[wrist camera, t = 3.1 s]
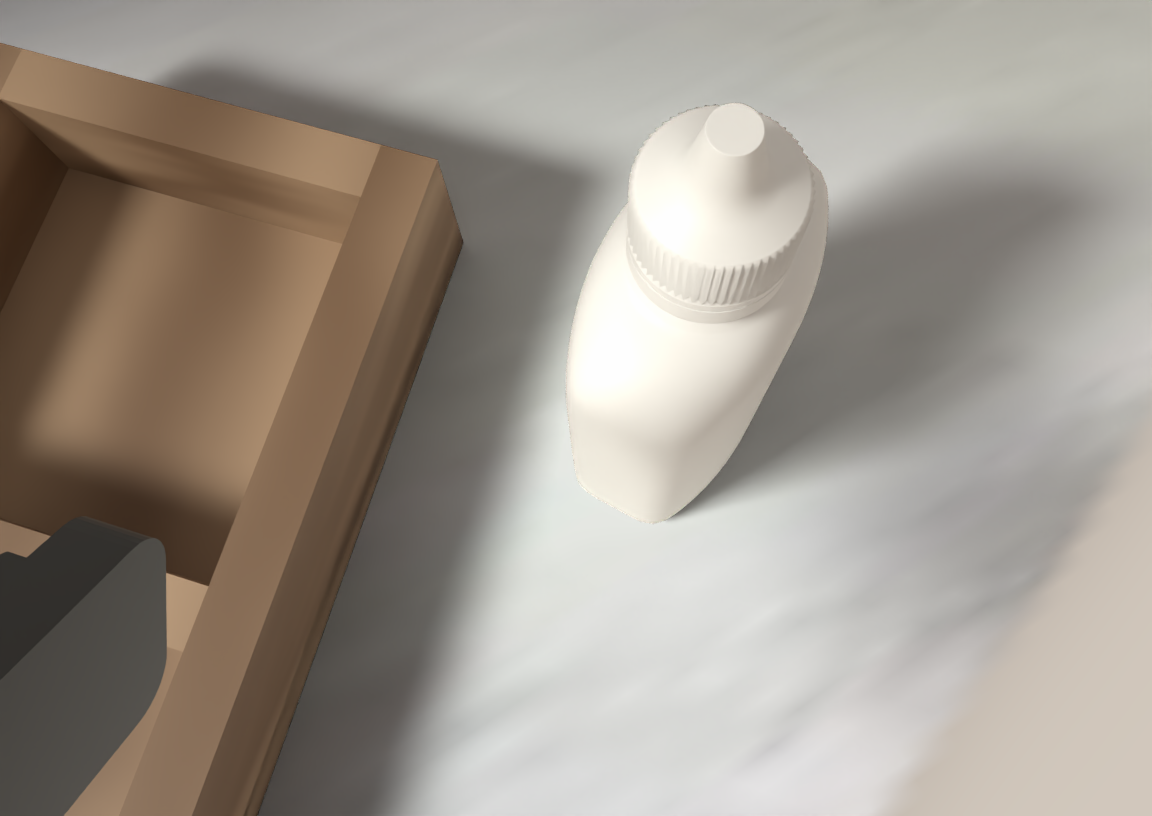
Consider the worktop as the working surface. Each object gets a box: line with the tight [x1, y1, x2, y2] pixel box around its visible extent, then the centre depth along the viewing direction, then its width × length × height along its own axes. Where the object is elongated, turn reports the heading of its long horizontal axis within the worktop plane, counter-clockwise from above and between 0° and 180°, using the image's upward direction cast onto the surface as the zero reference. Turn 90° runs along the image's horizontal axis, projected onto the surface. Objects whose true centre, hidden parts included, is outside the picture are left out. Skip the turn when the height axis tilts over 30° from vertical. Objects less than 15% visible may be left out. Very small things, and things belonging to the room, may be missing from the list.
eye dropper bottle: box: [566, 103, 829, 524], centre depth 18 cm, size 4×6×12 cm
